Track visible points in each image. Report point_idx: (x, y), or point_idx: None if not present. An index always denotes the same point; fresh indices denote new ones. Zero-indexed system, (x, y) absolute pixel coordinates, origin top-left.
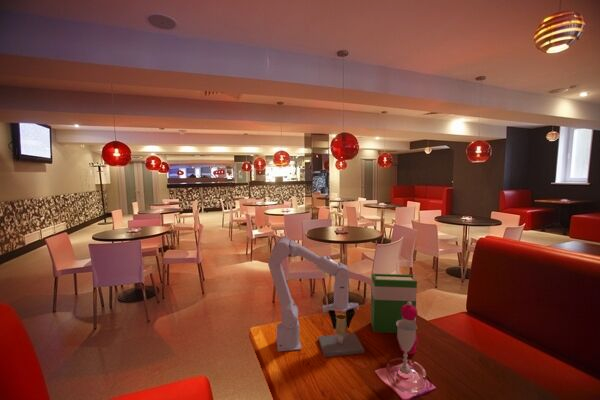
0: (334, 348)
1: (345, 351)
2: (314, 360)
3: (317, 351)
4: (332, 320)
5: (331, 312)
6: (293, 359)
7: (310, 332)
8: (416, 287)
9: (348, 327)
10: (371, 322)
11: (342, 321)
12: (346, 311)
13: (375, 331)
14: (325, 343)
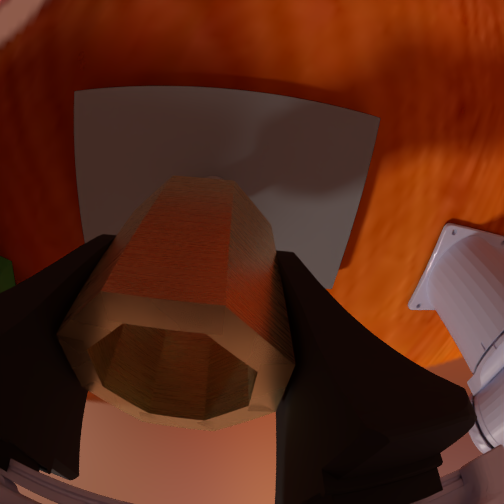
0: (286, 142)
1: (215, 88)
2: (429, 114)
3: (383, 179)
4: (370, 333)
5: (403, 477)
6: (495, 169)
7: None
8: None
9: (104, 235)
10: None
11: (172, 277)
12: (62, 432)
13: (4, 260)
14: (324, 213)
